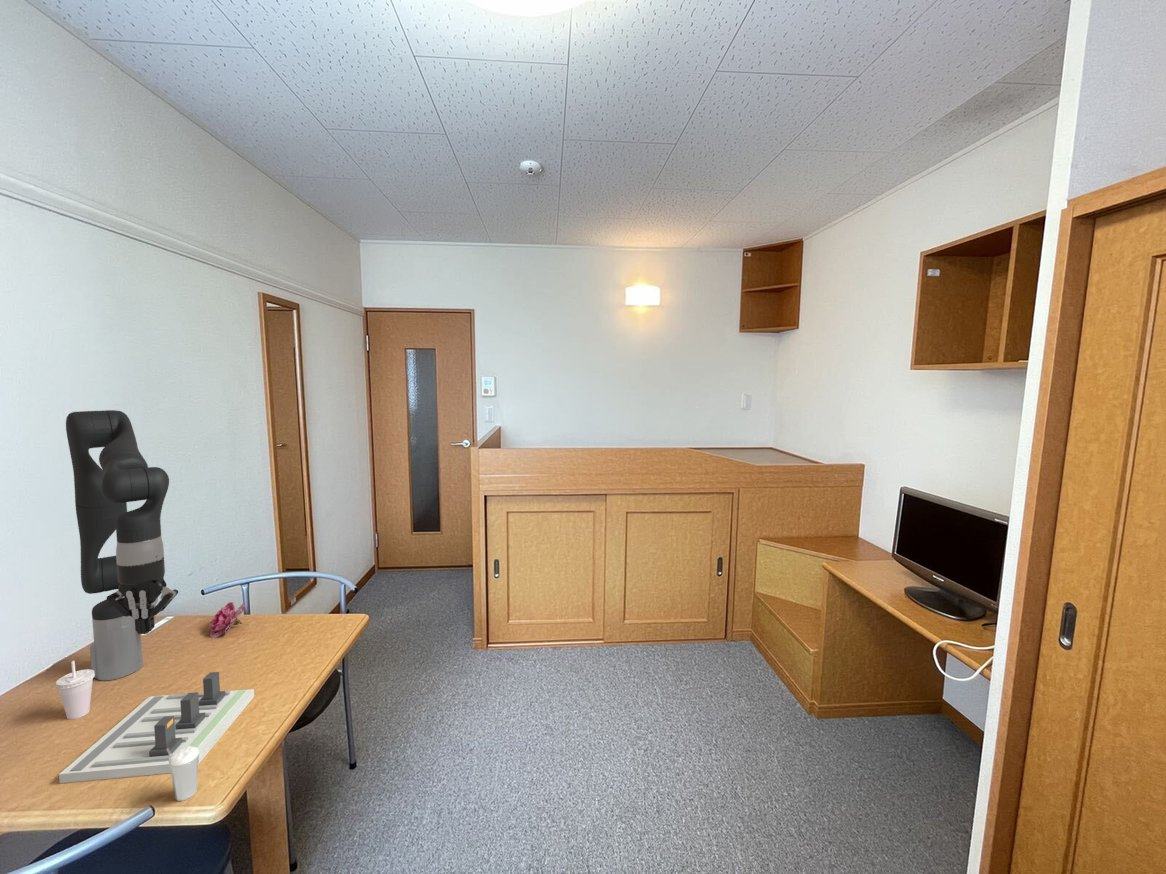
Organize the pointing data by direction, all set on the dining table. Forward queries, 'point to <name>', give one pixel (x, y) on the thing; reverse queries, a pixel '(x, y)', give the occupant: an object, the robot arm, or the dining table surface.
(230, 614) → the flower
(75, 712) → the smoothie
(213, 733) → the panel
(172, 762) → the milkshake
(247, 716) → the dining table surface
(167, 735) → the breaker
